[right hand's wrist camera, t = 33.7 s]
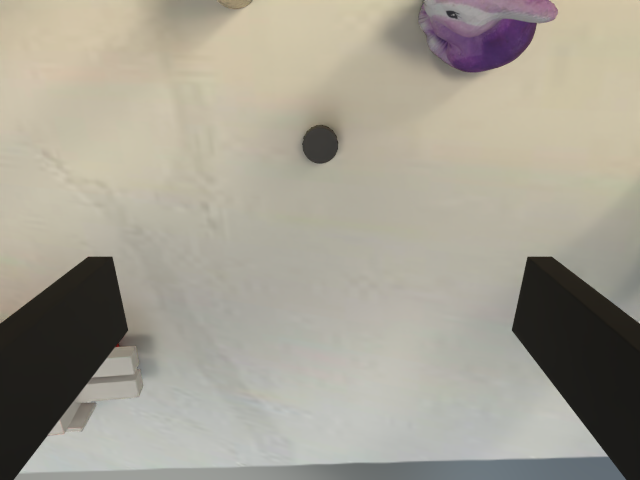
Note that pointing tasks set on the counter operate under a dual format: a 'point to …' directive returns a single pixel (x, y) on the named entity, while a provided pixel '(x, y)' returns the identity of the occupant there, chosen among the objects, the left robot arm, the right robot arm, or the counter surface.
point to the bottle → (234, 3)
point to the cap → (320, 144)
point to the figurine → (482, 30)
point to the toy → (104, 388)
